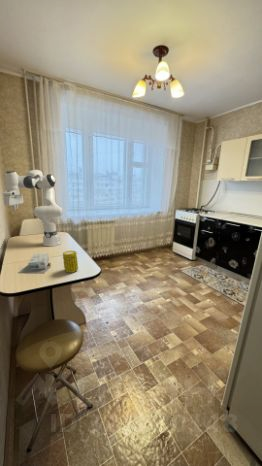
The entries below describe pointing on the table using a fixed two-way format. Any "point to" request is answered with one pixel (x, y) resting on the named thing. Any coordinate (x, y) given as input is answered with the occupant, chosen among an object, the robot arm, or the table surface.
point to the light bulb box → (39, 261)
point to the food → (70, 261)
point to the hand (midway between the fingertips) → (15, 210)
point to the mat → (28, 270)
